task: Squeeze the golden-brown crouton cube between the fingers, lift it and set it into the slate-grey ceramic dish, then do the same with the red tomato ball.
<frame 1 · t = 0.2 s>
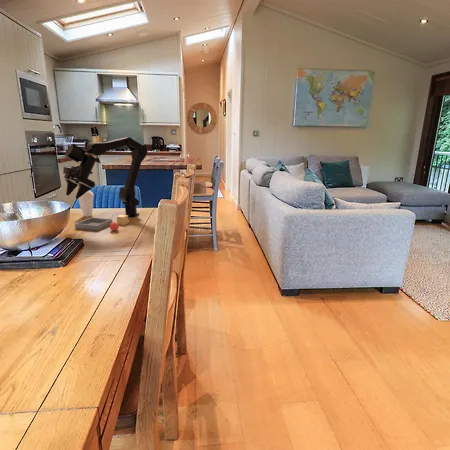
hand: (71, 196, 146), 15 cm above the table, tool tilted 30°, fingers open, 9 cm apart
soft serve ice cream cone: (87, 216, 170), on the table
dish: (94, 226, 151), on the table
crouton: (123, 223, 157), on the table
tomato: (114, 230, 146), on the table
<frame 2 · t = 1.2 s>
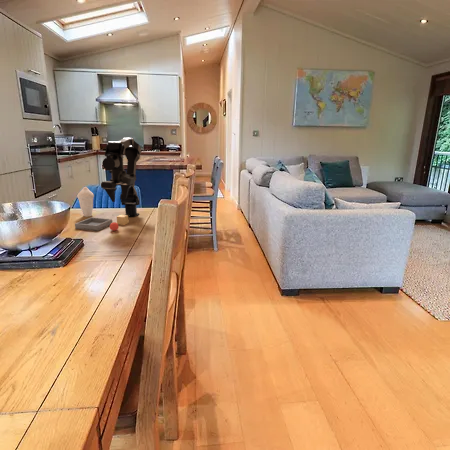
hand: (119, 200, 153), 12 cm above the table, tool pointing down, fingers open, 9 cm apart
nothing on the table moved.
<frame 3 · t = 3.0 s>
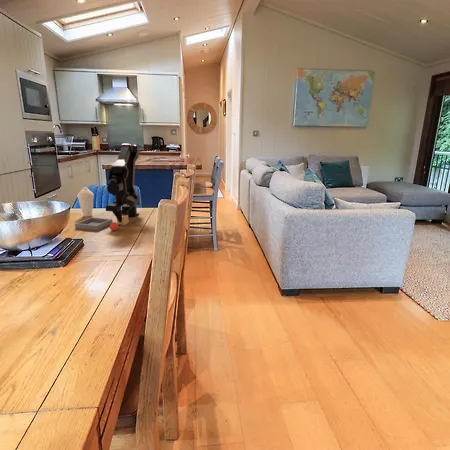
hand: (122, 221, 157), 1 cm above the table, tool pointing down, fingers closed on crouton, 4 cm apart
crouton: (123, 223, 157), on the table, touching gripper
everything else where it was.
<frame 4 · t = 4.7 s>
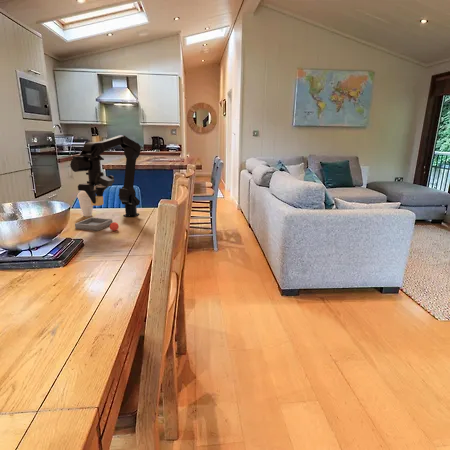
hand: (97, 202, 151), 11 cm above the table, tool pointing down, fingers closed on crouton, 4 cm apart
crouton: (97, 204, 151), point 10 cm above the table, touching gripper
everything else where it was.
when the fingers open (3 cm above the table, at t = 6.5 s): crouton drops 2 cm, resting on dish.
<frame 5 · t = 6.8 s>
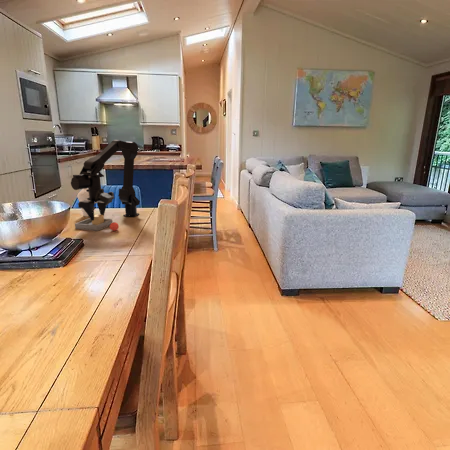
hand: (97, 218, 153), 3 cm above the table, tool pointing down, fingers open, 7 cm apart
crouton: (98, 223, 154), point 1 cm above the table, touching dish
everything else where it was.
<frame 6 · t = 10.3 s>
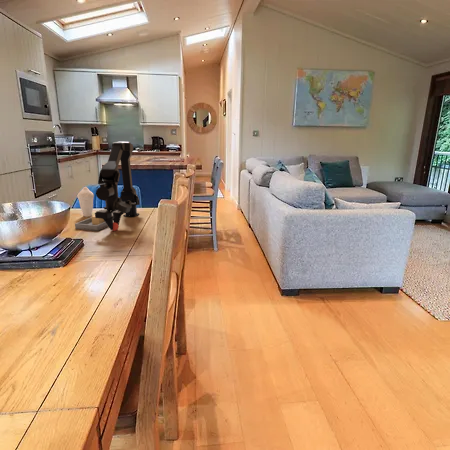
hand: (114, 228, 145), 1 cm above the table, tool pointing down, fingers closed on tomato, 4 cm apart
tomato: (114, 230, 146), on the table, touching gripper
everything else where it was.
when the fingers open (3 cm above the table, at t = 13.7 s): tomato drops 1 cm, resting on dish.
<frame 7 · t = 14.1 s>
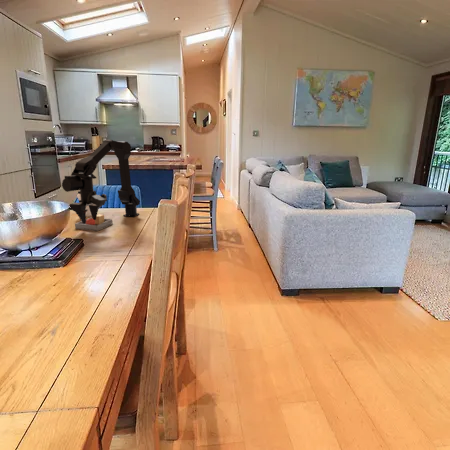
hand: (89, 221, 147), 3 cm above the table, tool pointing down, fingers open, 7 cm apart
crouton: (98, 223, 154), point 1 cm above the table, touching dish, gripper
tomato: (91, 226, 149), point 1 cm above the table, touching dish
everything else where it was.
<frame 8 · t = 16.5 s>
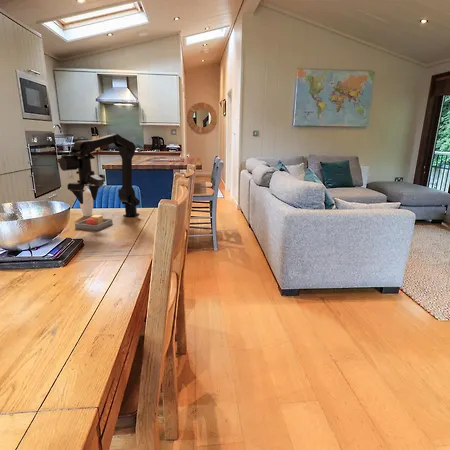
hand: (88, 201, 148), 12 cm above the table, tool pointing down, fingers open, 9 cm apart
crouton: (97, 223, 153), point 1 cm above the table, touching dish
everything else where it was.
at the end: crouton inside the target area on the dish (2.4 cm from its centre), point 0.6 cm above the dish's base; tomato inside the target area on the dish (2.5 cm from its centre), point 0.6 cm above the dish's base; the gripper is holding nothing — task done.
